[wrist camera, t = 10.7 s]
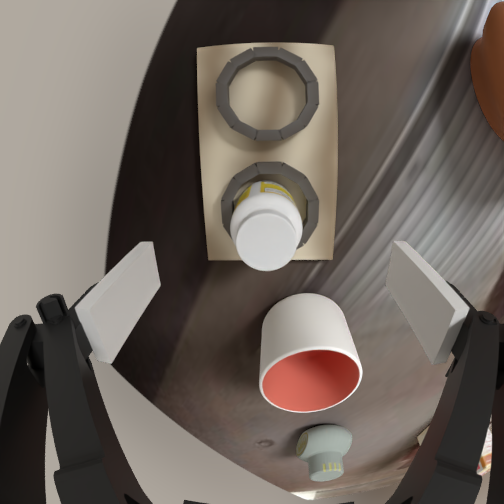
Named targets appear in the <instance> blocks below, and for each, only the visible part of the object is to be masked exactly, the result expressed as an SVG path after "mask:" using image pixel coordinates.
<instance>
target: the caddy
mask: <svg viewBox="0 0 504 504" xmlns="http://www.w3.org/2000/svg"><path fill="white" fill-rule="evenodd" d="M197 85H198V118H199V140H200V159H201V176H202V190H203V204H204V217H205V228H206V240H207V250H208V260H242V259H241V258H240V256H239V254H238V252H237V249H236V246H235V244H234V242H233V240H232V237H231V232H230V223H231V218H232V215H233V212H234V210H235V208H236V205H237V203H238V201H239V198H240V196H241V194H242V193H243V192H244V190H245V189H246V188H247V187H248V186H250V185H251V184H253V183H255V182H258V181H265V180H266V181H273V182H277V183H279V184H281V185H282V186H284V187H285V188H286V189H287V190H288V191H289V193H290V194H291V196H292V198H293V200H294V202H295V204H296V207H297V209H298V211H299V214H300V216H301V220H302V227H303V231H302V237H301V240H300V242H299V244H298V246H297V248H296V251H295V254H294V256H293V257H292V259H291V260H332V259H333V247H334V234H335V219H336V200H337V171H338V113H337V85H336V68H335V54H334V46H333V45H322V44H308V43H244V44H230V45H219V46H209V47H201V48H197Z"/></svg>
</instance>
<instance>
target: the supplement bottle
mask: <svg viewBox="0 0 504 504" xmlns="http://www.w3.org/2000/svg"><path fill="white" fill-rule="evenodd" d="M302 231H303V227H302V220H301V216H300V214H299V211H298V209H297V207H296V204H295V202H294V200H293V198H292V196H291V194H290V193H289V191H288V190H287V189H286V188H285V187H284V186H282V185H281V184H279V183H277V182H273V181H266V180H265V181H258V182H255V183H253V184H251V185H250V186H248V187H247V188H246V189H245V190H244V192H243V193H242V194H241V196H240V198H239V201H238V203H237V205H236V208H235V210H234V212H233V215H232V218H231V223H230V232H231V237H232V240H233V242H234V244H235V246H236V249H237V252H238V254H239V256H240V258H241V259H242V260H243V261H244V262H245V263H246V264H247V265H248V266H250V267H252V268H254V269H257V270H261V271H272V270H276V269H279V268H281V267H283V266H285V265H286V264H287V263H288V262H289V261H290V260H291V259H292V257H293V256H294V254H295V251H296V248H297V246H298V244H299V242H300V240H301V237H302Z"/></svg>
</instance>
